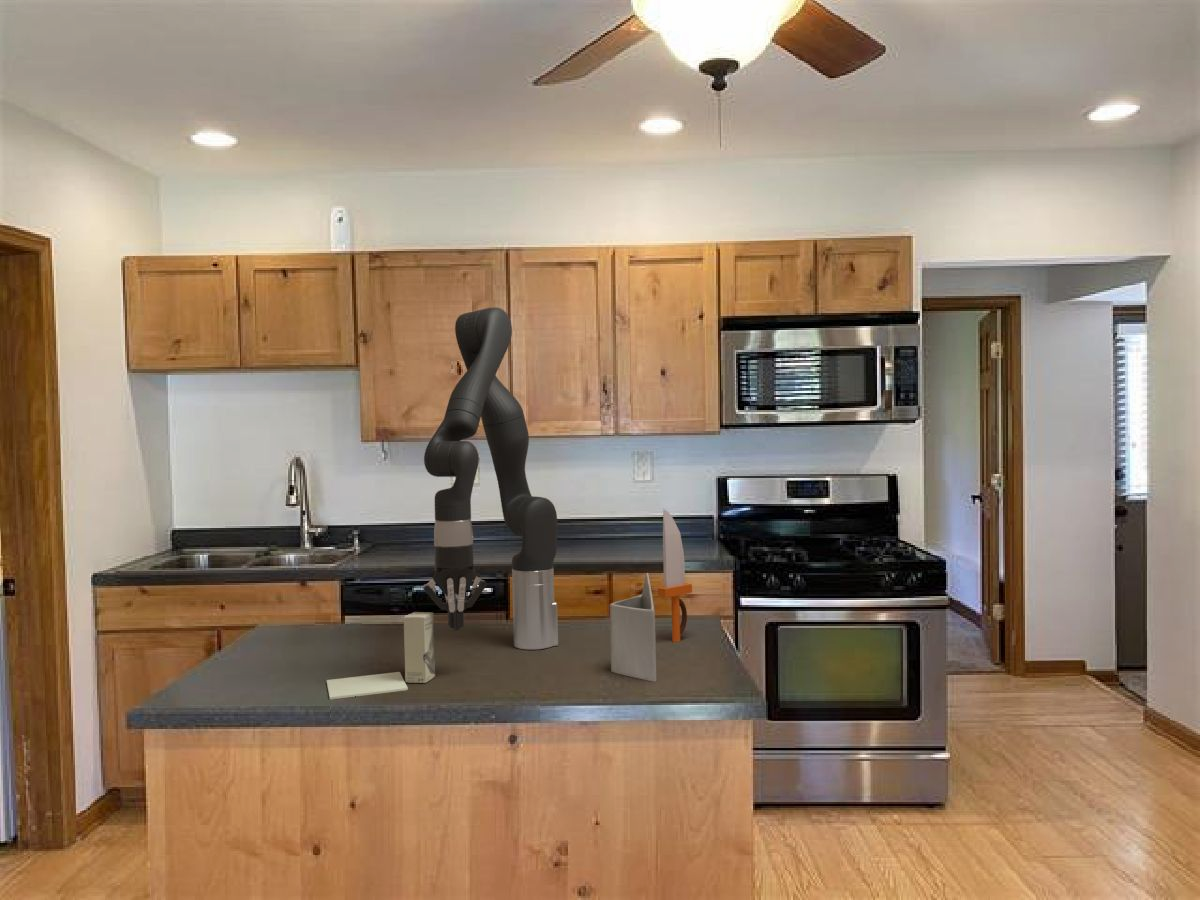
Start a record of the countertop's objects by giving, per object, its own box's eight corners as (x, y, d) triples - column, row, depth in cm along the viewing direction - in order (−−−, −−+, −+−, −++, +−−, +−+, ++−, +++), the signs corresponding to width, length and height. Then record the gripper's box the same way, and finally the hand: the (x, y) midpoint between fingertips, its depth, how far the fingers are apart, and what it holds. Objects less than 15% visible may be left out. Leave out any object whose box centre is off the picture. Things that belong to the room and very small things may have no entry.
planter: (607, 660, 185) (605, 567, 184) (645, 659, 185) (643, 566, 185) (614, 683, 168) (612, 581, 168) (656, 681, 169) (654, 580, 168)
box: (425, 684, 171) (424, 617, 170) (404, 683, 172) (402, 616, 171) (436, 676, 176) (434, 611, 176) (415, 675, 177) (413, 611, 176)
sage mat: (399, 673, 178) (399, 671, 178) (407, 690, 167) (407, 688, 167) (326, 682, 174) (326, 680, 174) (329, 699, 162) (329, 697, 162)
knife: (666, 645, 196) (663, 509, 195) (658, 643, 198) (655, 508, 197) (693, 639, 201) (690, 506, 200) (685, 637, 203) (682, 505, 202)
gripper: (482, 538, 181) (484, 623, 182) (416, 542, 177) (419, 629, 177) (491, 542, 174) (493, 630, 174) (422, 547, 169) (425, 637, 170)
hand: (455, 629), depth 176 cm, fingers closed
